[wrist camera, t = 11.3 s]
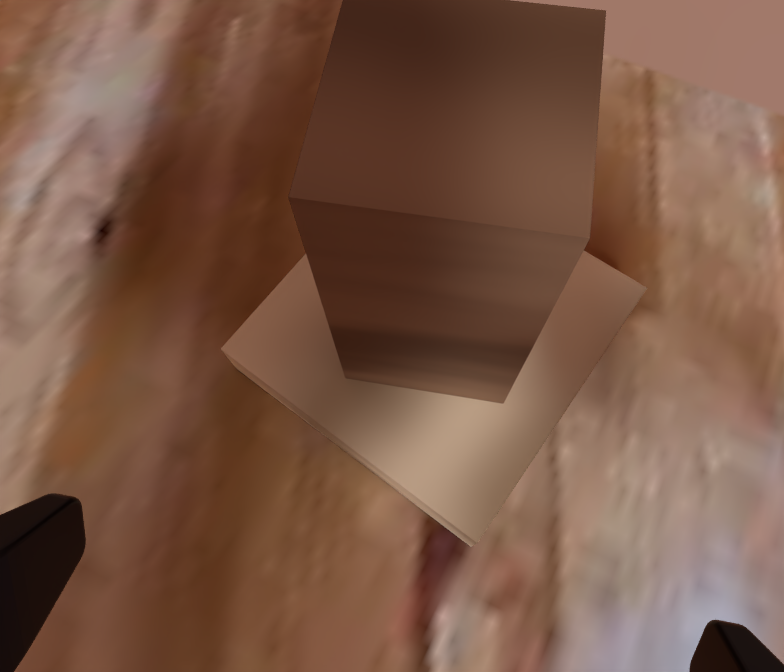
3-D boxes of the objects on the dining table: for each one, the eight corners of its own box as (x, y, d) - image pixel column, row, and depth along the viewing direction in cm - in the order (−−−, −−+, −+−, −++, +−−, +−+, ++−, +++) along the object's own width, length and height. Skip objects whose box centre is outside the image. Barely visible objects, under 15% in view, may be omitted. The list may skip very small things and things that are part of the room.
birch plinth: (627, 312, 23) (647, 287, 21) (471, 546, 20) (477, 543, 18) (404, 176, 25) (403, 143, 23) (236, 368, 22) (220, 348, 20)
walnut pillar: (503, 403, 19) (589, 238, 10) (345, 378, 20) (288, 197, 10) (519, 262, 21) (606, 10, 12) (374, 241, 22) (347, -17, 12)
